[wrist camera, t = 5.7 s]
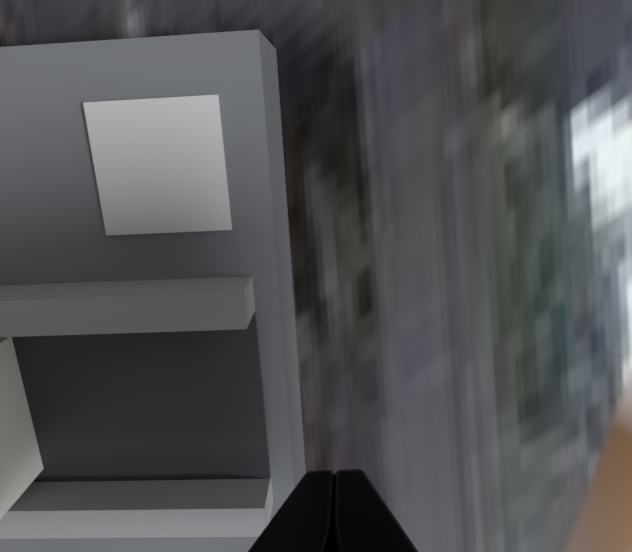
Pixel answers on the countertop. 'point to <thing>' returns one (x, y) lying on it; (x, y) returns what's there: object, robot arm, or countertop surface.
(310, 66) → the countertop surface
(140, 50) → the switch board
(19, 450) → the switch tab
